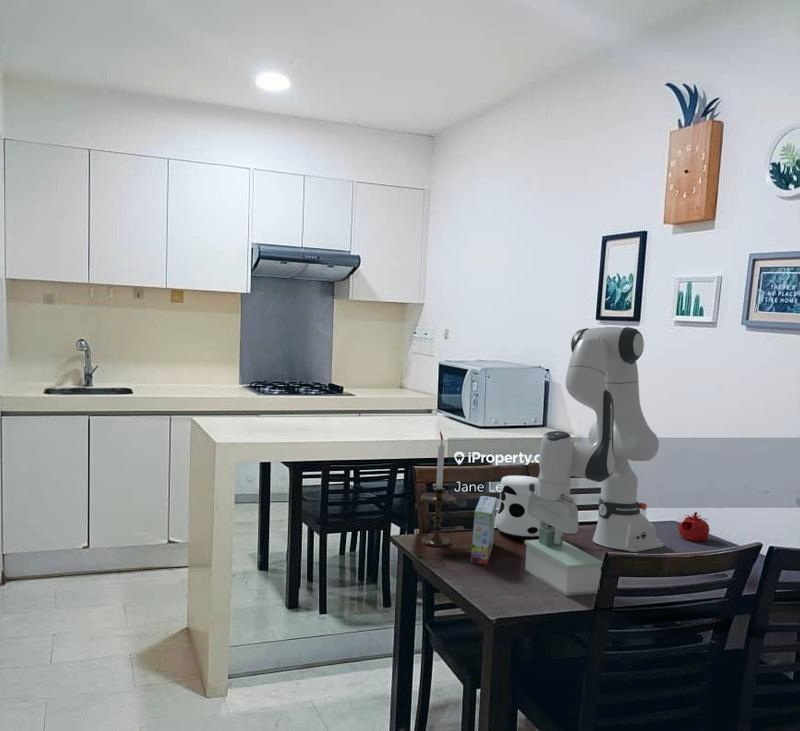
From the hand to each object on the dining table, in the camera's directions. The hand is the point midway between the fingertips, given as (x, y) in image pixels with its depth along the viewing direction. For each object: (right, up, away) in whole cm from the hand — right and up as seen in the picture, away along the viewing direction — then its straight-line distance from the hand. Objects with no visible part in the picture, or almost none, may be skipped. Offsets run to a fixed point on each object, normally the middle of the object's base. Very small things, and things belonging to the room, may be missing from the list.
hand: (550, 540), depth 193 cm
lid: (+2, -3, -6) cm, 6 cm away
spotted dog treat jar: (-2, -8, +37) cm, 38 cm away
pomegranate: (+57, -10, +42) cm, 72 cm away
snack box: (-17, -8, +16) cm, 24 cm away
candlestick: (-30, -7, +23) cm, 39 cm away
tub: (+2, -10, -5) cm, 11 cm away
